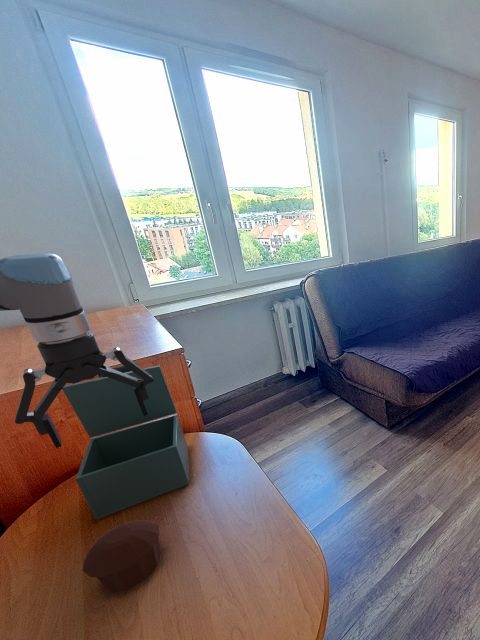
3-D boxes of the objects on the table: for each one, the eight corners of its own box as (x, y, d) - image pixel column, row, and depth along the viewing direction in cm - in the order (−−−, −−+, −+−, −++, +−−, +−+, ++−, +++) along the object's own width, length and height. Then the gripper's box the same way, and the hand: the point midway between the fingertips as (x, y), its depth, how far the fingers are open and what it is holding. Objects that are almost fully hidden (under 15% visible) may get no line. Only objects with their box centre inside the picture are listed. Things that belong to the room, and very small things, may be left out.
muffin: (173, 533, 76) (161, 501, 73) (161, 581, 67) (146, 547, 63) (106, 556, 71) (90, 523, 68) (84, 611, 62) (63, 576, 59)
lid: (159, 366, 88) (159, 351, 93) (61, 388, 78) (67, 370, 83) (176, 413, 96) (175, 397, 102) (89, 438, 87) (93, 419, 92)
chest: (189, 483, 89) (176, 446, 85) (95, 519, 79) (75, 479, 75) (188, 448, 102) (177, 413, 97) (107, 475, 92) (90, 438, 87)
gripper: (-48, 367, 52) (13, 470, 60) (150, 323, 69) (178, 408, 77) (-39, 352, 57) (16, 449, 65) (144, 315, 74) (171, 396, 82)
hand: (104, 427), depth 71 cm, fingers open, 13 cm apart
